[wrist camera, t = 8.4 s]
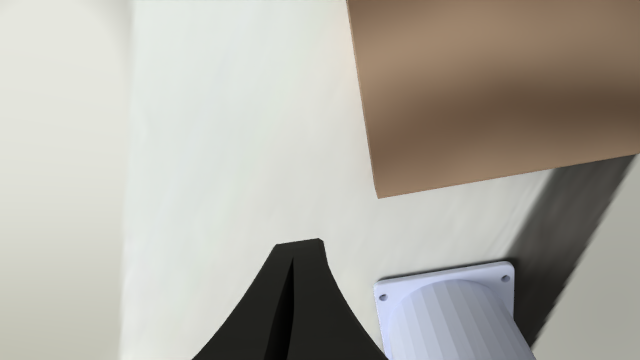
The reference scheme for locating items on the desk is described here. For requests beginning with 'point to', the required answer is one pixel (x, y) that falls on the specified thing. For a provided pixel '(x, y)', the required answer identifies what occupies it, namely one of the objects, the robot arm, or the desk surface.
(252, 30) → the desk surface
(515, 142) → the brown flat board
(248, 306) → the robot arm
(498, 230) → the desk surface
